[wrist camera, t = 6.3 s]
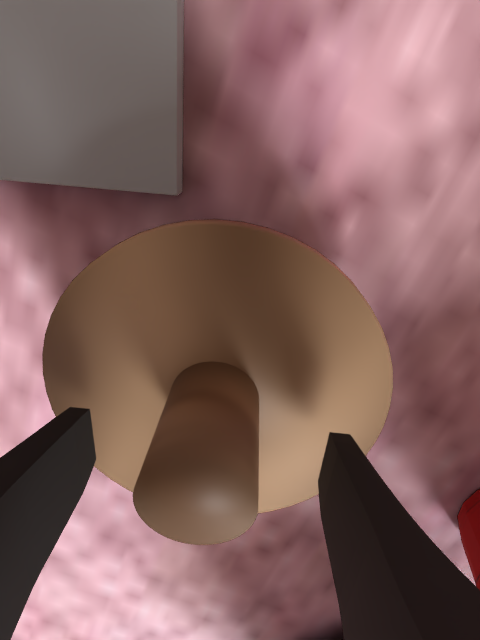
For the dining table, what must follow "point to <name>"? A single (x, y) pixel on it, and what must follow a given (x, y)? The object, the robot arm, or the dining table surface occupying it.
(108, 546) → the dining table surface
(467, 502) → the plastic cup
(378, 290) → the dining table surface
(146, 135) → the mat
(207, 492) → the lid
